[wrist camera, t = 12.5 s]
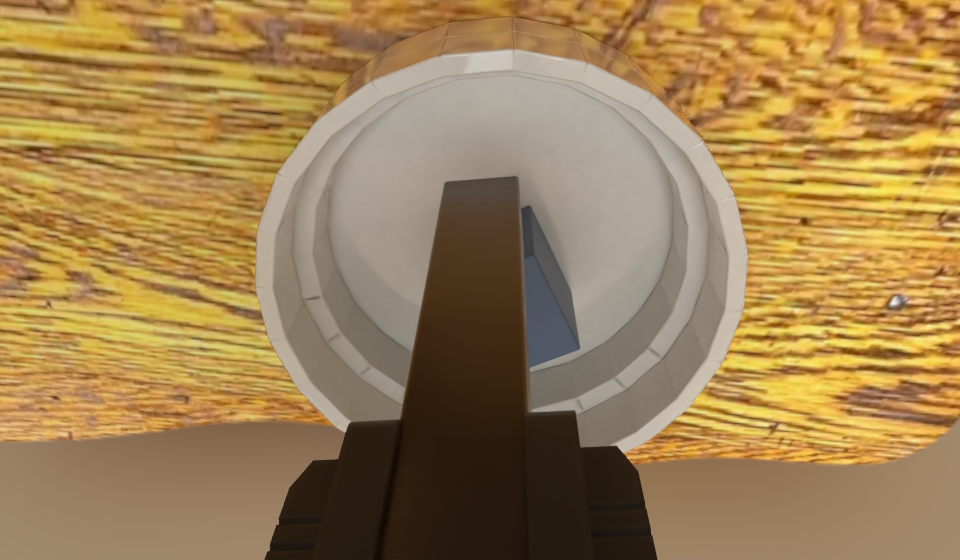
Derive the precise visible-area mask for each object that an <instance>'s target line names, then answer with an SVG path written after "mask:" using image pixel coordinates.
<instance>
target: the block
mask: <svg viewBox="0 0 960 560" xmlns="http://www.w3.org/2000/svg"><path fill="white" fill-rule="evenodd" d="M521 215H522V229H523V243H524V264H525V284H526V305H527V325H528V346H529V366H530V368H531V367H534V366H536V365H539V364H542V363H545V362H547V361H550V360H553V359H556V358H558V357H561V356H564V355H566V354H569V353H572V352H575V351H577V350H579V349H580V343H579V337H578V331H577V324H576V318H575V312H574V306H573V299H572V293H571V290H570V288H569V286H568V283H567V281H566V279H565V277H564V275H563V273H562V271H561V269H560V267H559V264H558V262H557V260H556V258H555V256H554V254H553V252H552V250H551V247H550V245H549V243H548V241H547V239H546V237H545V235H544V233H543V231H542V228H541V226H540V224H539V222H538V220H537V218H536V216H535V214H534V211H533V209H532V207H531V206H530V205H529V206H526V207H524V208H522V209H521ZM431 251H432V250H431Z"/></svg>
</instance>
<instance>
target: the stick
mask: <svg viewBox="0 0 960 560" xmlns="http://www.w3.org/2000/svg"><path fill="white" fill-rule="evenodd" d="M529 412H532V407H531V387H530V366H529V346H528V325H527V305H526V284H525V264H524V243H523V229H522V215H521V201H520V187H519V178H518V177H516V176H511V177H498V178H485V179H472V180H459V181H447V182H445V183H444V187H443V193H442V198H441V203H440V208H439V214H438V219H437V224H436V230H435V235H434V240H433V245H432V251H431V256H430V261H429V267H428V272H427V277H426V283H425V288H424V293H423V298H422V304H421V309H420V314H419V320H418V325H417V330H416V336H415V341H414V346H413V351H412V357H411V362H410V367H409V373H408V378H407V383H406V389H405V394H404V399H403V404H402V410H401V415H400V419H402V420H403V421H402V426H401V432H400V437H399V443H398V448H397V454H396V459H395V465H394V470H393V476H392V481H391V487H390V492H389V498H388V504H387V509H386V515H385V520H384V526H383V531H382V537H381V542H380V548H379V553H378V559H377V560H529V550H528V520H527V491H526V462H525V432H524V413H529Z"/></svg>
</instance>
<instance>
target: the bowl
mask: <svg viewBox="0 0 960 560" xmlns="http://www.w3.org/2000/svg"><path fill="white" fill-rule="evenodd" d="M511 176H516V177H518V178H519V187H520V201H521V209H522V208H524V207H526V206H529V205H530V206H531V207H532V209H533V211H534V214H535V216H536V218H537V220H538V222H539V224H540V226H541V228H542V231H543V233H544V235H545V237H546V239H547V241H548V243H549V245H550V247H551V250H552V252H553V254H554V256H555V258H556V260H557V262H558V264H559V267H560V269H561V271H562V273H563V275H564V277H565V279H566V281H567V283H568V286H569V288H570V290H571V293H572V299H573V306H574V312H575V318H576V324H577V331H578V337H579V343H580V349H579V350H577V351H575V352H572V353H569V354H566V355H564V356H561V357H558V358H556V359H553V360H550V361H547V362H545V363H542V364H539V365H536V366H534V367H531V368H530V387H531V407H532V412H548V411H567V410H575V411H576V417H577V425H578V433H579V440H580V447H598V446H618V448H619V449H620V450H621V451H622V453H625V452H627V451H629V450H631V449H633V448H635V447H637V446H639V445H641V444H643V443H645V442H646V441H649V440H650V439H651V438H653V437H654V436H655V435H656V434H657V433H659V432H660V431H661V430H662V429H664V428H665V427H666V426H667V425H669V424H670V423H671V422H672V421H673V420H675V419H676V418H677V417H678V416H680V415H681V414H682V413H683V412H685V411H686V410H687V409H688V408H689V406H691V405H692V403H693V402H694V401H695V399H696V398H697V397H698V395H699V394H700V393H701V391H702V390H703V389H704V387H705V386H706V385H707V383H708V382H709V381H710V379H711V378H712V377H713V375H714V374H715V373H716V371H717V370H718V369H719V367H720V366H721V365H722V362H723V361H724V359H725V356H726V354H727V351H728V349H729V346H730V343H731V341H732V338H733V336H734V333H735V331H736V328H737V326H738V323H739V321H740V318H741V315H742V313H743V309H744V301H745V289H746V277H747V265H748V249H747V244H746V240H745V235H744V231H743V227H742V222H741V218H740V213H739V209H738V205H737V200H736V196H735V195H734V191H733V190H732V188H731V186H730V185H729V183H728V181H727V179H726V178H725V176H724V174H723V173H722V171H721V169H720V168H719V166H718V164H717V162H716V161H715V159H714V157H713V156H712V154H711V152H710V150H709V149H708V147H707V145H706V144H705V142H704V140H703V139H702V138H701V136H700V135H699V134H698V132H697V131H696V129H695V128H694V127H693V125H692V124H691V123H690V121H689V120H688V118H687V117H686V116H685V114H684V113H683V111H682V110H681V109H680V107H679V106H678V104H677V103H676V102H675V100H674V99H673V98H672V96H671V95H670V94H669V93H668V92H667V91H666V90H665V89H664V88H663V87H662V86H661V85H660V84H658V83H657V82H656V81H655V80H654V79H653V78H652V77H651V76H650V75H649V74H648V73H647V72H645V71H644V70H643V69H642V68H641V67H640V66H639V65H638V64H637V63H636V62H635V61H634V60H632V59H631V58H630V57H628V56H626V54H624V53H622V52H620V51H618V50H616V49H614V48H612V47H610V46H608V45H606V44H604V43H602V42H600V41H598V40H596V39H594V38H592V37H590V36H588V35H586V34H584V33H582V32H580V31H578V30H576V29H574V30H573V29H572V28H570V27H565V26H560V25H554V24H549V23H543V22H538V21H533V20H527V19H522V18H517V17H513V18H512V17H502V18H491V19H480V20H469V21H457V22H451V23H447V24H444V25H441V26H439V27H436V28H433V29H431V30H428V31H426V32H423V33H420V34H418V35H415V36H412V37H410V38H407V39H404V40H402V41H399V42H397V43H394V45H391V46H390V47H388V48H387V49H386V50H384V51H383V52H382V53H380V54H379V55H378V56H376V57H375V58H374V59H372V60H371V61H370V62H368V63H367V64H366V65H364V66H363V67H361V68H360V69H359V70H357V71H356V72H355V73H353V74H352V75H351V76H349V77H348V78H347V80H346V81H344V83H343V84H342V85H341V87H340V88H339V89H338V91H337V92H336V93H335V95H334V96H333V97H332V99H331V100H330V101H329V103H328V104H327V105H326V107H325V108H324V109H323V111H322V112H321V113H320V115H319V116H318V117H317V119H316V120H315V121H314V123H313V124H312V125H311V127H310V128H309V129H308V131H307V132H306V134H305V135H304V136H303V138H302V139H301V140H300V142H299V143H298V144H297V146H296V147H295V149H294V150H293V151H292V153H291V154H290V155H289V157H288V158H287V159H286V161H285V162H284V164H283V165H282V166H281V168H280V169H279V170H278V173H277V174H276V177H275V180H274V182H273V185H272V188H271V191H270V194H269V196H268V199H267V202H266V205H265V208H264V211H263V213H262V216H261V219H260V222H259V225H258V230H257V242H256V268H255V286H256V287H255V289H256V293H257V297H258V300H259V304H260V308H261V312H262V316H263V320H264V323H265V327H266V331H267V335H268V339H269V340H270V343H271V345H272V346H273V348H274V350H275V352H276V353H277V355H278V357H279V358H280V360H281V362H282V364H283V365H284V367H285V369H286V370H287V372H288V374H289V376H290V377H291V379H292V381H293V382H294V384H295V386H296V387H297V389H298V390H299V391H300V392H301V393H302V394H303V395H304V396H305V397H306V398H307V399H308V400H309V401H310V402H311V403H312V404H313V405H314V406H315V407H316V408H317V409H318V410H319V411H320V412H321V413H322V414H323V415H324V416H325V417H326V418H327V419H328V420H329V421H330V422H331V423H332V424H333V425H334V426H335V427H336V428H338V429H339V430H341V431H342V432H344V433H346V430H347V427H348V425H349V423H350V422H358V421H377V420H395V419H400V415H401V410H402V404H403V399H404V394H405V389H406V383H407V378H408V373H409V367H410V362H411V357H412V351H413V346H414V341H415V336H416V330H417V325H418V320H419V314H420V309H421V304H422V298H423V293H424V288H425V283H426V277H427V272H428V267H429V261H430V256H431V250H432V245H433V240H434V235H435V230H436V224H437V219H438V214H439V208H440V203H441V198H442V193H443V187H444V183H445V182H447V181H459V180H472V179H485V178H498V177H511Z"/></svg>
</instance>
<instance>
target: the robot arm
mask: <svg viewBox="0 0 960 560" xmlns="http://www.w3.org/2000/svg"><path fill="white" fill-rule="evenodd" d="M402 421H403V420H402V419H395V420H377V421H358V422H350V423H349V425H348V427H347V430H346V433H345V437H344V441H343V444H342V448H341V451H340V455H339V458H338V459H335V460H318V461H317V460H315V461H312V463H311V464H310V465H309V466H308V467H307V468H306V470H305V471H304V472H303V473H302V474H301V475H300V476H299V478H298V479H297V480H296V481H295V482H294V483H293V484H292V486H291V487H290V488H289V491H288V494H287V496H286V499H285V502H284V505H283V508H282V511H281V514H280V517H279V525H276V528H275V531H274V534H273V537H272V540H271V543H270V551H268V552H267V554H266V557H265V560H377V559H378V553H379V548H380V542H381V537H382V531H383V526H384V520H385V515H386V509H387V504H388V498H389V492H390V487H391V481H392V476H393V470H394V465H395V459H396V454H397V448H398V443H399V437H400V432H401V426H402ZM524 432H525V462H526V491H527V520H528V550H529V560H657V555H656V551H655V546H654V542H653V537H652V535H651V528H650V524H649V519H648V515H647V510H646V508H645V501H644V496H643V491H642V487H641V483H640V478H639V473H638V471H637V469H636V468H635V467H634V466H633V465H632V463H631V462H630V461H629V460H628V459H627V457H626V456H625V455H624V454H623V453H622V451H621V450H620V449H619V448H618V446H598V447H580V440H579V433H578V425H577V417H576V411H575V410H567V411H548V412H529V413H524Z"/></svg>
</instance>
